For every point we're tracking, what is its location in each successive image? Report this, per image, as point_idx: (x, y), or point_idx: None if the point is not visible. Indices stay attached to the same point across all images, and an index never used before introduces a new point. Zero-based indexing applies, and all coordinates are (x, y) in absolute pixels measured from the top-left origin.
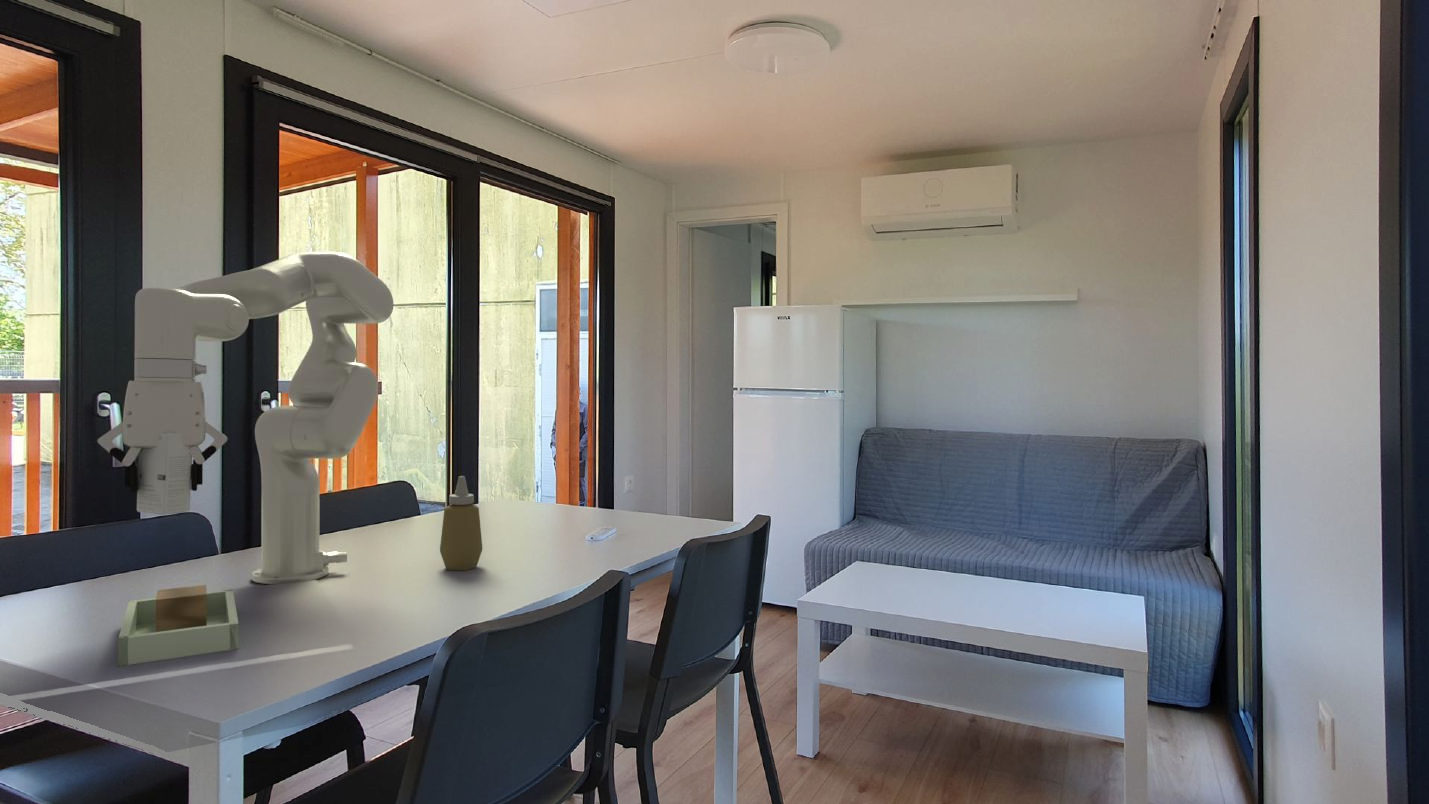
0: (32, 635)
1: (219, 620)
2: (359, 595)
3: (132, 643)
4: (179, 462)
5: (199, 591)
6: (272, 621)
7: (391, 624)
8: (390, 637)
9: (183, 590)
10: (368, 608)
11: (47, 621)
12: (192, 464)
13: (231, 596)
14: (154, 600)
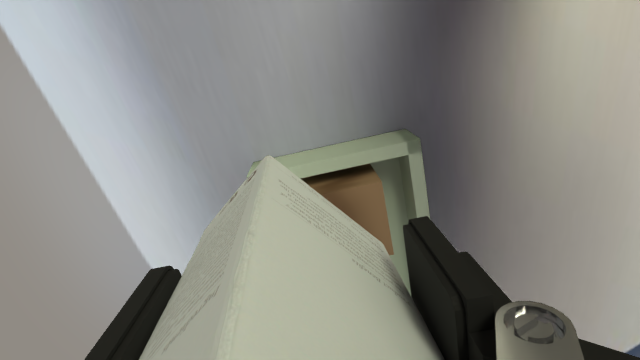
0: (112, 160)
1: (393, 186)
2: (630, 47)
3: None
4: None
5: (378, 232)
6: (469, 187)
7: (630, 253)
8: (613, 307)
9: (348, 216)
10: (622, 153)
11: (85, 70)
12: (464, 358)
13: (423, 196)
14: None
